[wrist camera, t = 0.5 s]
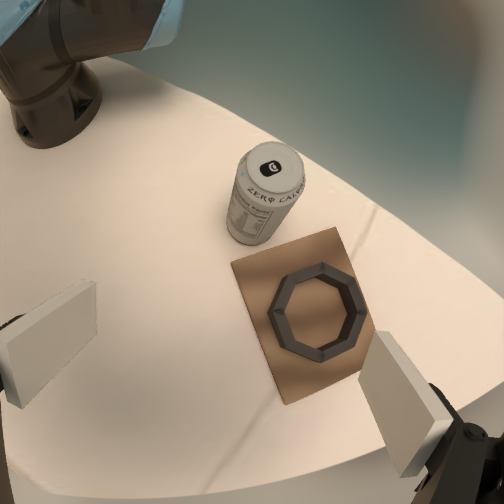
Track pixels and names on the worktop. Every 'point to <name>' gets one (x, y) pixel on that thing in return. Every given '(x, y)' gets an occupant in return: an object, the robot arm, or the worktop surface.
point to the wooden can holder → (306, 312)
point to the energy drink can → (264, 191)
